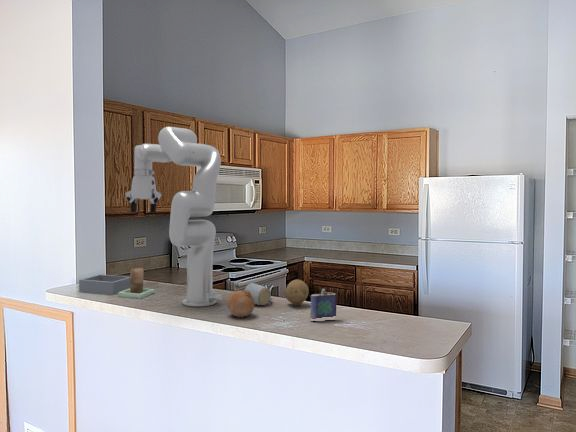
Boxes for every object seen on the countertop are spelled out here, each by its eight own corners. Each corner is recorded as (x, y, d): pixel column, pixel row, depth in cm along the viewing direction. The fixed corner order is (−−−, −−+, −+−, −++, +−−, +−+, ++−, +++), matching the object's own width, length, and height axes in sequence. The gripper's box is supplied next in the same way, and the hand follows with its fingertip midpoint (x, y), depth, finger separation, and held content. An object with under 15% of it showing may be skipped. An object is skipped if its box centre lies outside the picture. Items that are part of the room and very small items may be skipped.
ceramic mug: (259, 308, 168) (259, 287, 167) (242, 304, 173) (243, 284, 172) (277, 303, 176) (278, 283, 176) (261, 299, 181) (261, 280, 181)
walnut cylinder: (145, 292, 185) (146, 268, 184) (138, 295, 180) (139, 270, 180) (134, 291, 186) (134, 267, 186) (127, 294, 181) (127, 269, 181)
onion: (251, 324, 157) (264, 299, 157) (234, 322, 150) (248, 296, 149) (233, 309, 163) (247, 285, 162) (216, 307, 155) (230, 282, 155)
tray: (154, 293, 187) (154, 289, 187) (140, 299, 177) (140, 294, 177) (132, 291, 189) (132, 287, 189) (117, 297, 180) (118, 292, 180)
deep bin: (131, 288, 196) (131, 276, 195) (113, 294, 183) (113, 282, 183) (99, 285, 200) (99, 274, 199) (79, 291, 187) (79, 279, 187)
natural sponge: (309, 309, 167) (309, 282, 167) (284, 308, 167) (285, 281, 167) (307, 303, 176) (308, 277, 176) (284, 302, 176) (285, 277, 176)
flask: (311, 322, 150) (312, 290, 150) (308, 320, 153) (309, 288, 153) (337, 320, 153) (338, 289, 153) (333, 318, 156) (334, 287, 156)
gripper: (165, 174, 203) (165, 212, 204) (131, 173, 207) (130, 211, 208) (156, 173, 195) (156, 213, 196) (121, 173, 200) (121, 212, 201)
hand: (143, 212), depth 202 cm, fingers open, 9 cm apart
